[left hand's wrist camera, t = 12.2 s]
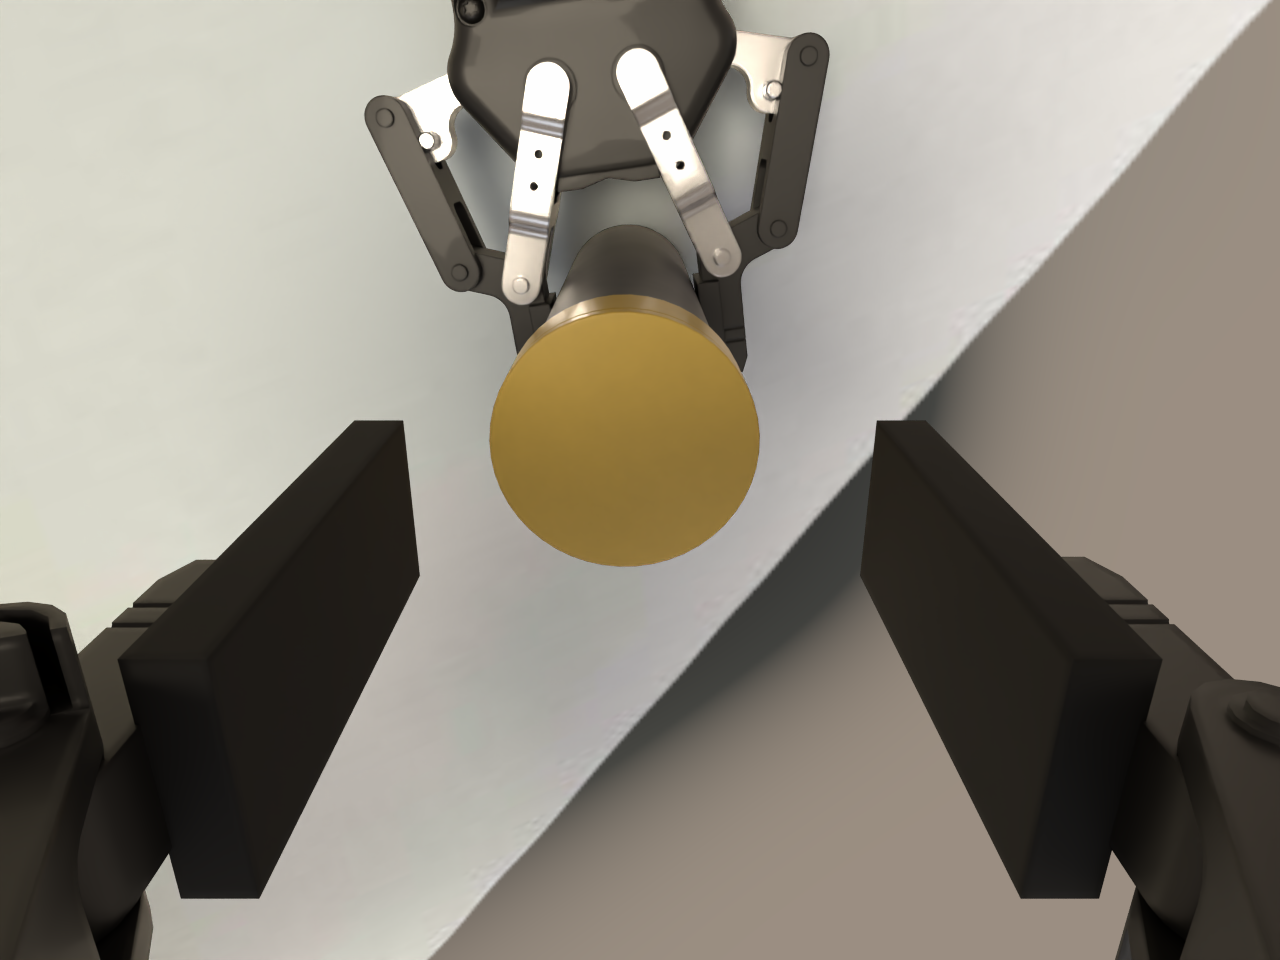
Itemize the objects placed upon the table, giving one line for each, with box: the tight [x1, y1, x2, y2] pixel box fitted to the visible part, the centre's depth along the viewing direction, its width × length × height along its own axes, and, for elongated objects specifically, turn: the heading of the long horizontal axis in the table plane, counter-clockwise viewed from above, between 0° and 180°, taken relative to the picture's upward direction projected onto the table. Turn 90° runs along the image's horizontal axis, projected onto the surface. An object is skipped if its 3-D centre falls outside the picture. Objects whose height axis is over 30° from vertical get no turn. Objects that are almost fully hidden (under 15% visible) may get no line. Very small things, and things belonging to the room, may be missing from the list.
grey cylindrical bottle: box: [546, 225, 709, 326], centre depth 26 cm, size 5×5×19 cm
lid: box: [489, 294, 760, 567], centre depth 17 cm, size 5×5×2 cm
